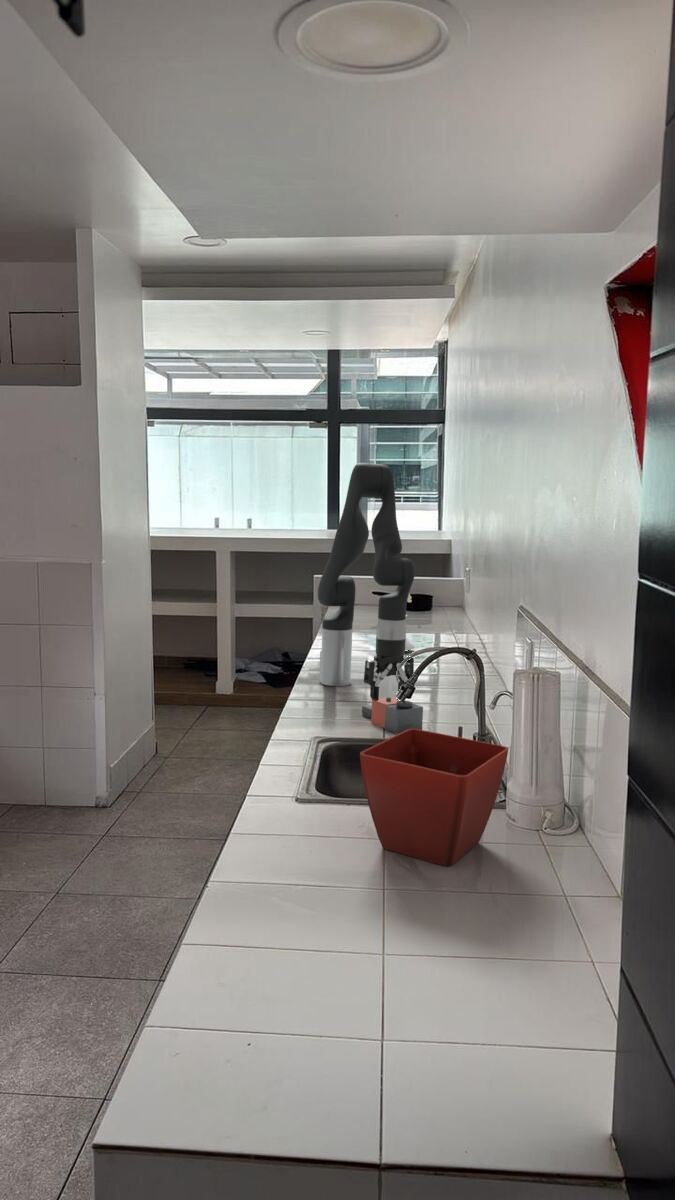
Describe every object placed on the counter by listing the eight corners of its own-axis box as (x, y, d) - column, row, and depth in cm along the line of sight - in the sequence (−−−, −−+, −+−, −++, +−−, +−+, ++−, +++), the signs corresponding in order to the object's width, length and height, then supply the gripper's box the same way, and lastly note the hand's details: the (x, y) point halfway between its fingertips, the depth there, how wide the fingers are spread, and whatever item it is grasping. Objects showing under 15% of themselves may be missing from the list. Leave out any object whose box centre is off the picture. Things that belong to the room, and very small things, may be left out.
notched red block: (371, 722, 225) (372, 696, 224) (389, 719, 229) (390, 694, 228) (385, 727, 220) (386, 701, 220) (404, 725, 224) (405, 699, 223)
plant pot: (459, 881, 134) (465, 775, 132) (353, 851, 144) (356, 752, 142) (505, 841, 150) (510, 746, 148) (406, 816, 160) (410, 727, 158)
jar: (382, 702, 247) (383, 660, 245) (365, 696, 254) (367, 655, 252) (407, 699, 252) (409, 658, 250) (390, 693, 259) (391, 653, 257)
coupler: (352, 716, 230) (353, 690, 230) (377, 712, 235) (378, 687, 234) (396, 734, 215) (398, 706, 214) (422, 730, 219) (423, 702, 218)
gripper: (403, 631, 229) (401, 692, 231) (359, 635, 221) (357, 698, 223) (422, 636, 222) (418, 698, 225) (377, 640, 215) (374, 704, 217)
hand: (388, 698), depth 224 cm, fingers open, 8 cm apart
